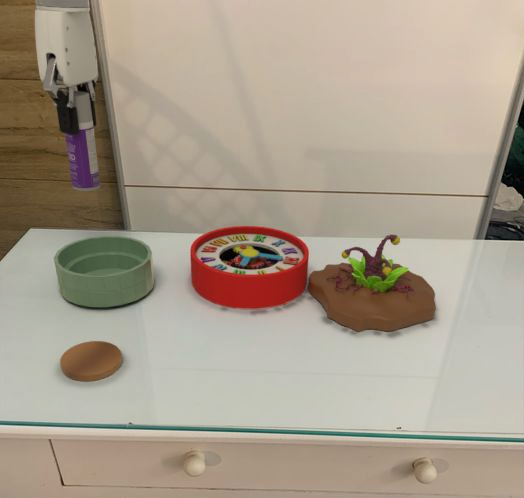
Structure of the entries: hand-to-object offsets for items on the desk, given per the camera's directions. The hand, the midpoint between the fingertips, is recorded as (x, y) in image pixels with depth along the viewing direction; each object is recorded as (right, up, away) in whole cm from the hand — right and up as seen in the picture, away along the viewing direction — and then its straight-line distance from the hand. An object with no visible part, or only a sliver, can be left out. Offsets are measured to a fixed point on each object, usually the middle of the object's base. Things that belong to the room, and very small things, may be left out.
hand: (78, 127), depth 91 cm
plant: (+49, -28, +2) cm, 56 cm away
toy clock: (+28, -24, +6) cm, 38 cm away
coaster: (+7, -38, -16) cm, 42 cm away
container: (-1, -8, +6) cm, 10 cm away
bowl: (+4, -26, +2) cm, 26 cm away
